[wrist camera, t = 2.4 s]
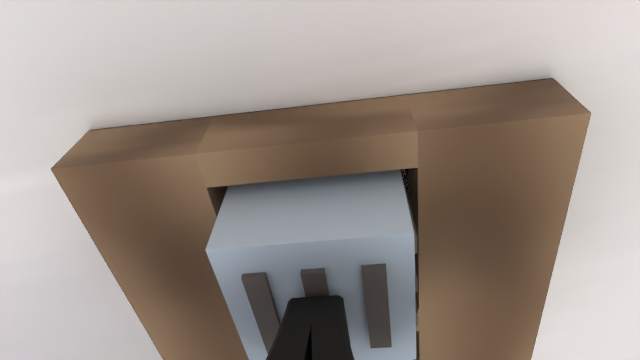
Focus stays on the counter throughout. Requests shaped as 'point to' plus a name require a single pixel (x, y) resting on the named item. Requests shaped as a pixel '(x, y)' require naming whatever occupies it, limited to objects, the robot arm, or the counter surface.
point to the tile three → (320, 258)
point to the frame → (340, 159)
